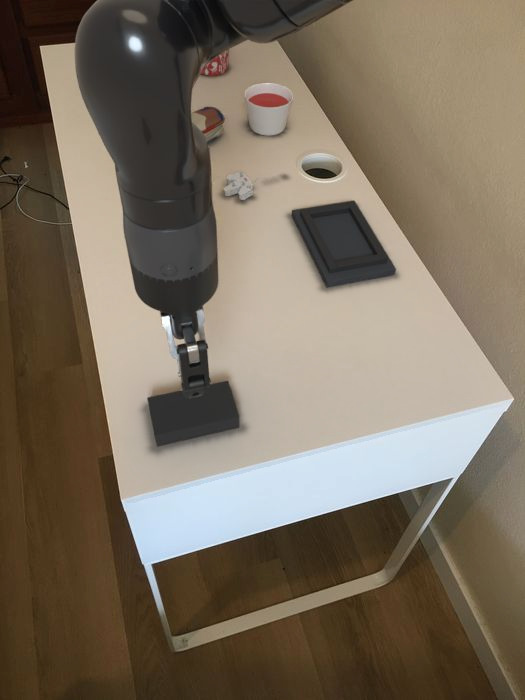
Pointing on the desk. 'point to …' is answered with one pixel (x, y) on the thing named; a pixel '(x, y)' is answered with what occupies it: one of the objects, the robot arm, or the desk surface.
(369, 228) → the base pad
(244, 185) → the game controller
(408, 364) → the desk surface
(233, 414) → the black pad
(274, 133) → the candle
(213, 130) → the pencil case
